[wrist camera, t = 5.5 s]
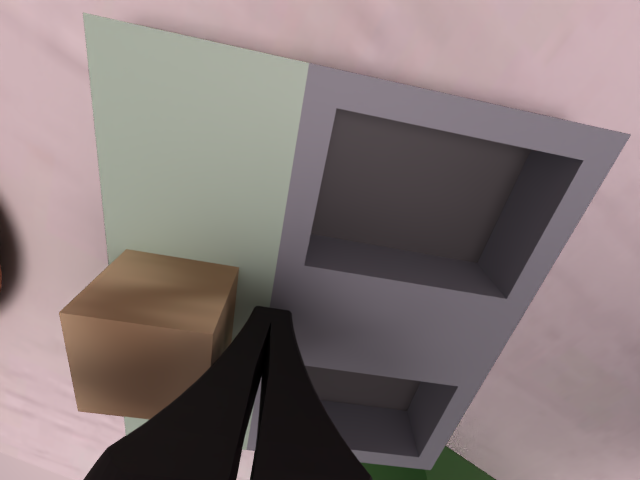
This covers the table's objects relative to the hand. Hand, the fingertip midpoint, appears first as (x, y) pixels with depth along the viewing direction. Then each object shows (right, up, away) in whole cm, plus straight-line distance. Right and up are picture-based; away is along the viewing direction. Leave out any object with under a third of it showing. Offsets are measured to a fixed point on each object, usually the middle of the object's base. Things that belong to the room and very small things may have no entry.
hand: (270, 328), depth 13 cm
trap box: (+2, +1, +4) cm, 4 cm away
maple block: (-3, +1, 0) cm, 4 cm away
